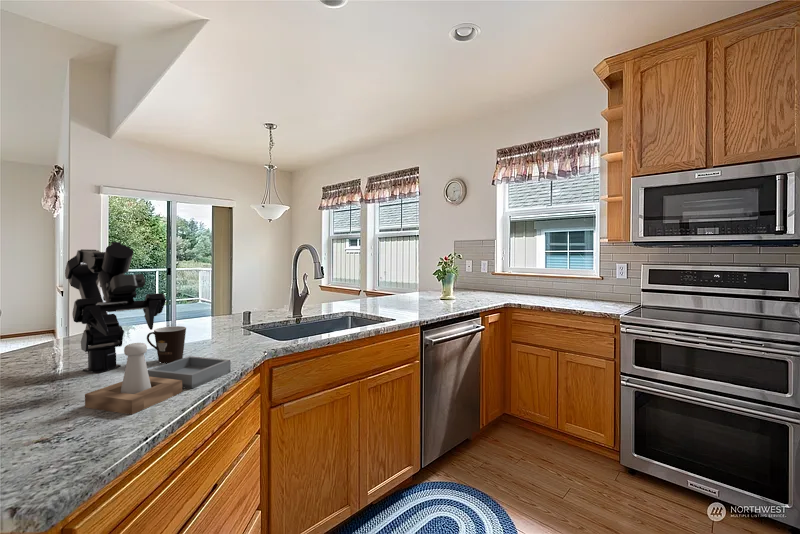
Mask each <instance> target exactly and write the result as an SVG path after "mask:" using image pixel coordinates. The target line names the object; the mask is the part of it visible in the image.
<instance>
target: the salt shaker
mask: <svg viewBox="0 0 800 534" xmlns="http://www.w3.org/2000/svg"><path fill="white" fill-rule="evenodd" d="M147 350H148V347H147V344H146V343H144V342H133V343H130V344H127V345H125V346H124V349H123V353H124V355H125V356H127V358H126V365H125V370H124V374H123V378H122V381H123V382H122V381H121V382H122V387H121V393H127V394H136V393H139V392H141V391H144V390H146V389H149V388H151V384H150V379H149V375H148V370H149V369H148V365H147V362H146V358H145V354H146V353H147Z"/></svg>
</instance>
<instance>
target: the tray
mask: <svg viewBox="0 0 800 534" xmlns="http://www.w3.org/2000/svg"><path fill="white" fill-rule="evenodd" d="M231 367H232V366H231V359H227V358H226V359H222V358H213V357H205V356H201V357H200V356H193V355H190V356H186V357H183V359H180V360H177V361H174V362H171V363H167V364H162V365H159V366H155V367H153V368H151V369H147V370H148V375H149V377H158V378H167V379H175V380H182V389H190V390H193V389H196V388H197V387H200V386H202V385H204V384H207V383H209V382H211V381H214V380H216V379H219V378H220V377H223V376H225V375H227V374H229V373H231Z"/></svg>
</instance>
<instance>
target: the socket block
mask: <svg viewBox="0 0 800 534" xmlns="http://www.w3.org/2000/svg"><path fill="white" fill-rule="evenodd" d="M149 379H150V384H151V388H149V389H146V390H144V391H141V392H139V393H136V394H127V393H121V387H122V382H123V380H122V381H119V382H117V383H114V384H111V385H110V384H109V385H107V386H104V387H102V388H98V389H95V390H93V391H90V392H87V393H85V394H84V408H86V409H92V410H100V411H105V412H106V411H107V412H113V413H119V414H127V415H134V414H136V413H138V412H142V411H143V410H144V411H145V409H147V408H150V407H152V406H155V405H156V404H159V403H162V402H163V401H166V400H168V398H169V399H171V398H173V397H175V396H178V395H180V394H182V393H183V388H182V380H175V379H167V378H158V377H149ZM181 392H182V393H181ZM179 393H180V394H179ZM177 394H178V395H177ZM172 396H173V397H172ZM170 397H171V398H170Z"/></svg>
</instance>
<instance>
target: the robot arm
mask: <svg viewBox="0 0 800 534" xmlns="http://www.w3.org/2000/svg"><path fill="white" fill-rule="evenodd" d="M133 255H134V250H133V249H132V248H131V247H129V246H127V245H125V244H122V242H121V241H111V243H110V245H108V246H107V247H106V249H105V251H100V250H97V249H80V250H79V249H78V250H77V251H76V254H75V256H73V257H72V258H70V259H68V260H67V261H66V266H65V268H64V269H65V271H64V275H65V280H67V281H68V282H69V286H70V287H72V288H74V289H76V290H78V292H79V294H80V297H81V298H77V299H76V300H75V301H74V302H73V307H72V308H73V309H72V319H73V322H75V323H81V324H82V325H85V328H84V330H83V332H82V336H81V340H80V349H81V350H82V351H83V352H85V353H87V364H88V365H87V366H88V367H86V368H83V369H82V372H89V373H95V374H101V373H104V372H107V371H108V372H109V371H111V370H113V369H114V370H115V369H118V368H120V367H122V365H121V364H118V363H117V352H116V348H119V347H122V346H123V341H124V340H123V339H124V334H125V330H124V329H123V326H122V325H120V323H119V321H118V318H117V315H116V314H115V312H126V311H136V310H142V312H143V314H144V319H145V322H146V324H147V326H148V328H149V329H150V330H151V331H152V330H153V328H154V324H155V323H154V321H155V317H156V316H159V314H161V313H163V309H164V308H165V304H166V302H167V298H166V296H165V294H164V293H162V292H161V293H160V292H159V293H149V294H148V293H147V294H146V295H145V297H144V300H135V299H134V298H136V297H137V292H136V290H137V289H138V288H139V289H140V288H144V287H145V285H146V278H145V276H144V274H143V273H136V274H126V273H129V270H130V266H131V264H132V259H133ZM99 287H100V288H101V291H102V294H101V291H100V288H99ZM102 295H103V297H102ZM113 312H114V313H113ZM108 313H109V314H108ZM150 330H149V331H150Z"/></svg>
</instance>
